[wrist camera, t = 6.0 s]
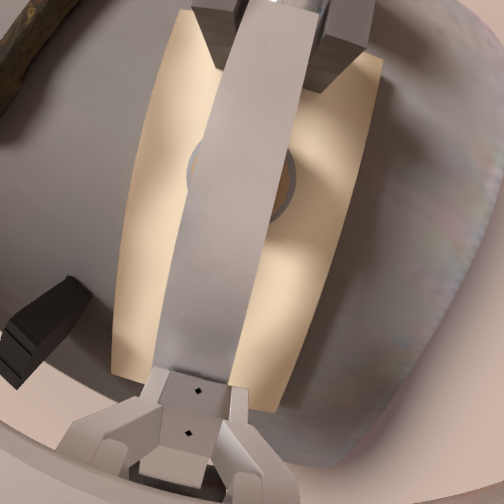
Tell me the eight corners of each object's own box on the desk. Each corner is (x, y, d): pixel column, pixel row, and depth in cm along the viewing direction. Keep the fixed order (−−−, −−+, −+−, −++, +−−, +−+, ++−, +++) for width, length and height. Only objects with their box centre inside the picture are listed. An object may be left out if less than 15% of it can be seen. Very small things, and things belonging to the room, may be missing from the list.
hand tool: (117, -61, 14) (97, -90, 9) (147, -48, 14) (129, -81, 10) (-25, 120, 17) (-62, 119, 13) (-6, 144, 18) (-46, 145, 13)
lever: (127, 473, 12) (110, 513, 9) (234, 0, 10) (234, -45, 7) (215, 494, 12) (212, 538, 9) (335, 25, 11) (357, -15, 8)
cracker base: (120, 358, 22) (68, 445, 13) (186, 22, 16) (143, -63, 7) (273, 396, 23) (282, 497, 14) (371, 68, 17) (451, 12, 8)
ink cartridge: (71, 272, 20) (5, 318, 13) (94, 293, 21) (35, 348, 13) (47, 316, 21) (-11, 367, 13) (67, 335, 22) (14, 392, 14)
